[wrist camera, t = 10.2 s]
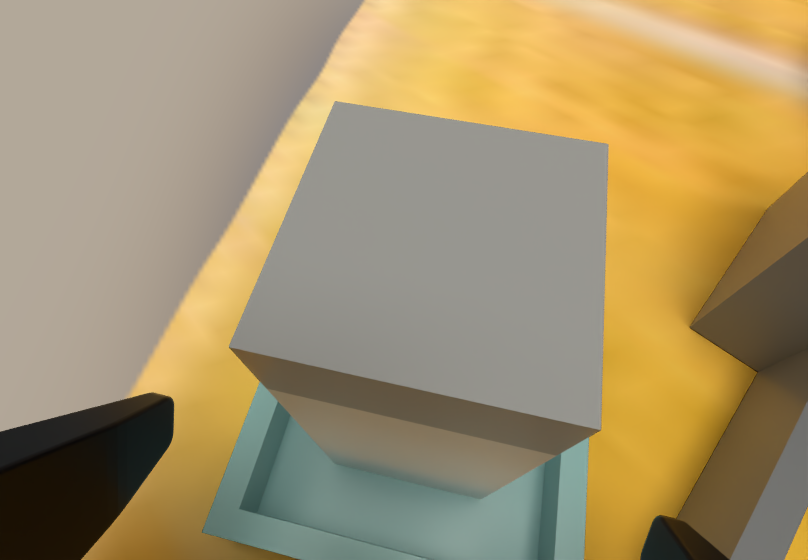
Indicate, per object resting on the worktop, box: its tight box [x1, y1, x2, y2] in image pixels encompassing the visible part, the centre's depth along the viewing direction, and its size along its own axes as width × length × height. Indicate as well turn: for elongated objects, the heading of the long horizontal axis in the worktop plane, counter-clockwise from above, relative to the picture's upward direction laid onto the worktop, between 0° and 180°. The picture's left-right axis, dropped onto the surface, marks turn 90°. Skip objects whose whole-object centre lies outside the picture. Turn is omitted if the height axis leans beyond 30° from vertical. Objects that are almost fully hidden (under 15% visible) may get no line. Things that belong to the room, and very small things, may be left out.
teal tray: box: [202, 382, 589, 560], centre depth 16 cm, size 11×11×2 cm
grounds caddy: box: [229, 101, 608, 500], centre depth 12 cm, size 5×5×11 cm
